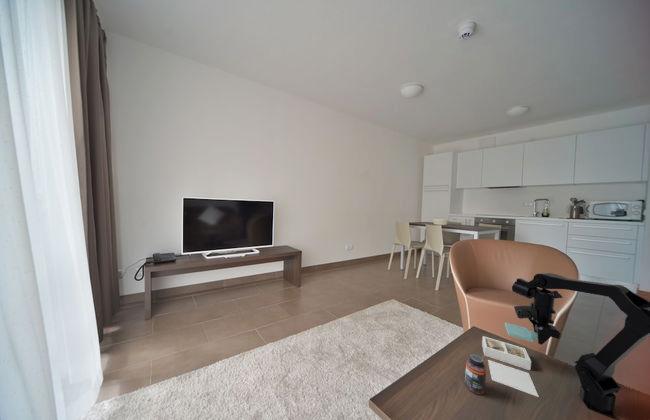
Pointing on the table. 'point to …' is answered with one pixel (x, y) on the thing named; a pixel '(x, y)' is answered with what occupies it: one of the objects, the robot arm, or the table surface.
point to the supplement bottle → (475, 374)
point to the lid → (521, 332)
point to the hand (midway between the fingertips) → (538, 341)
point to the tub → (506, 354)
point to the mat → (512, 377)
